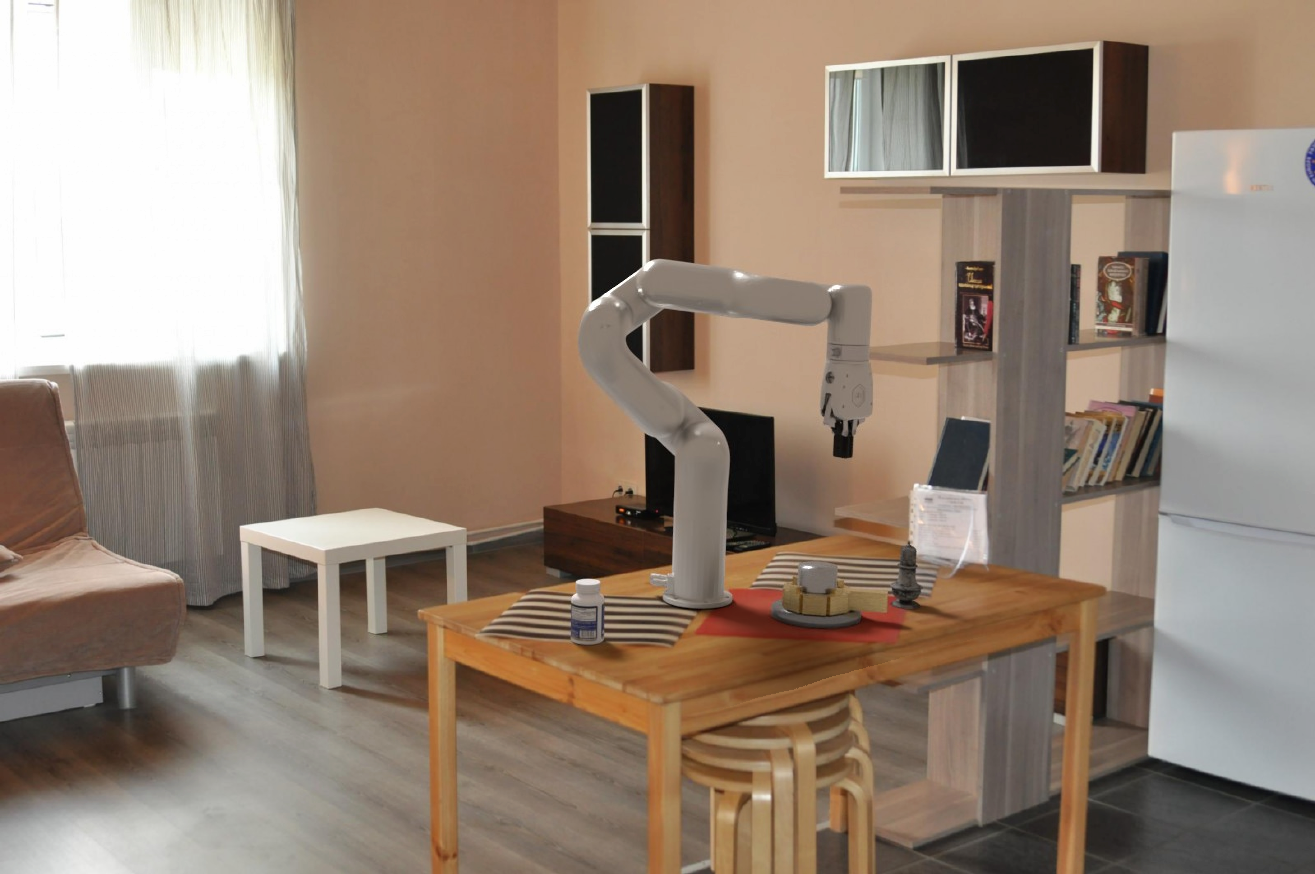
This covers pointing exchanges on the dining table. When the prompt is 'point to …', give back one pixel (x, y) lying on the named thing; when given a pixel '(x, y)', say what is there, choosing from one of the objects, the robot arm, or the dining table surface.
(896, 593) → the salt shaker
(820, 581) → the spindle base
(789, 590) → the ring nut
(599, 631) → the pill bottle
